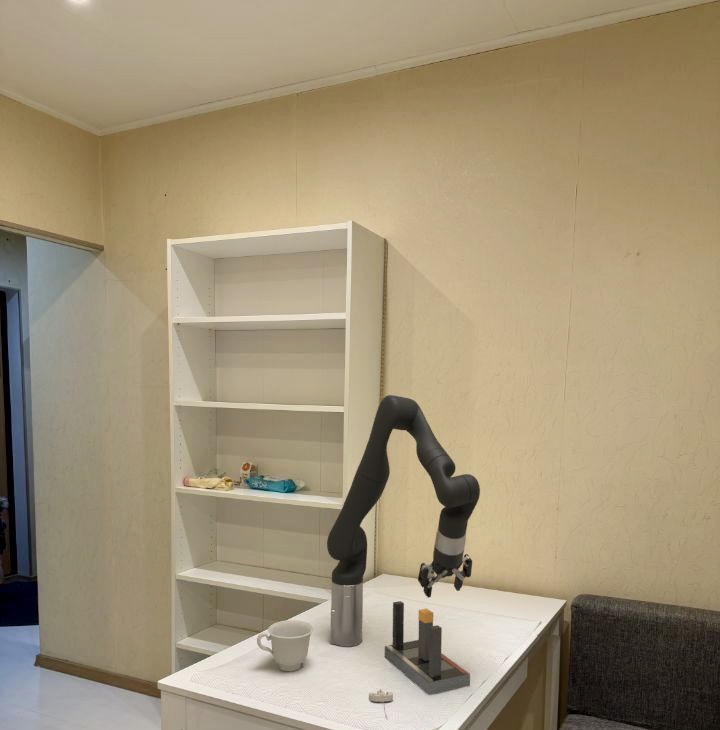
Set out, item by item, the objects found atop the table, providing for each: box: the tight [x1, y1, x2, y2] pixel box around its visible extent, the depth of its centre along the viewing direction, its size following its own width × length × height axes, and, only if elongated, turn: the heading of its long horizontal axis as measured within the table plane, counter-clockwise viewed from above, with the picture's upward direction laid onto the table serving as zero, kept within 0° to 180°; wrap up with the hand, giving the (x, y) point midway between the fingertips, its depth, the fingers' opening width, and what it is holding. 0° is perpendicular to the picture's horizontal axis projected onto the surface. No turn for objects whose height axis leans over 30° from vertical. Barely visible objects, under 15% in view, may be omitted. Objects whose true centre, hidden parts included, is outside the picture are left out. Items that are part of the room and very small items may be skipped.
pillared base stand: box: [384, 600, 471, 696], centre depth 165 cm, size 12×23×15 cm, turn 25°
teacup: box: [256, 619, 314, 672], centre depth 166 cm, size 12×15×10 cm
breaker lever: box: [418, 608, 434, 661], centre depth 165 cm, size 2×3×12 cm
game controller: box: [368, 689, 394, 720], centre depth 147 cm, size 6×12×3 cm, turn 23°
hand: (442, 591), depth 166 cm, fingers open, 8 cm apart
